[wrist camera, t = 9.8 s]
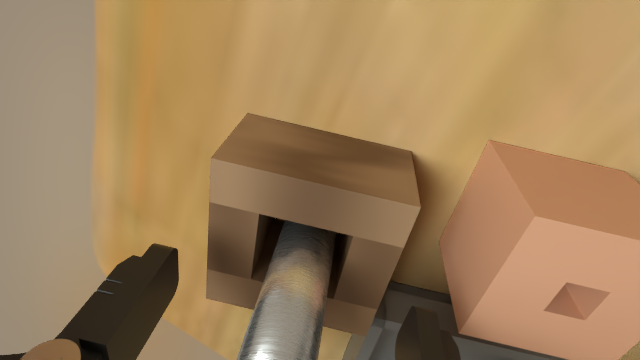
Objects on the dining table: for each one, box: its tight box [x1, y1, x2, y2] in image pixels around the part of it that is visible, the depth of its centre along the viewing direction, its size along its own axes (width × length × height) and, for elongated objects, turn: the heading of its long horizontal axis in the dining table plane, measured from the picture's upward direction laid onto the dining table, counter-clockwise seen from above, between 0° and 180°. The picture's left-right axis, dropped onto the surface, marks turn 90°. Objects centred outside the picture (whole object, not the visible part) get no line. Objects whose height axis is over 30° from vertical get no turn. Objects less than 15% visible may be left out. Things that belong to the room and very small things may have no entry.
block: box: [439, 140, 640, 360], centre depth 14 cm, size 6×6×5 cm
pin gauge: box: [237, 220, 336, 360], centre depth 13 cm, size 2×2×10 cm
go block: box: [206, 113, 421, 336], centre depth 15 cm, size 7×7×4 cm
